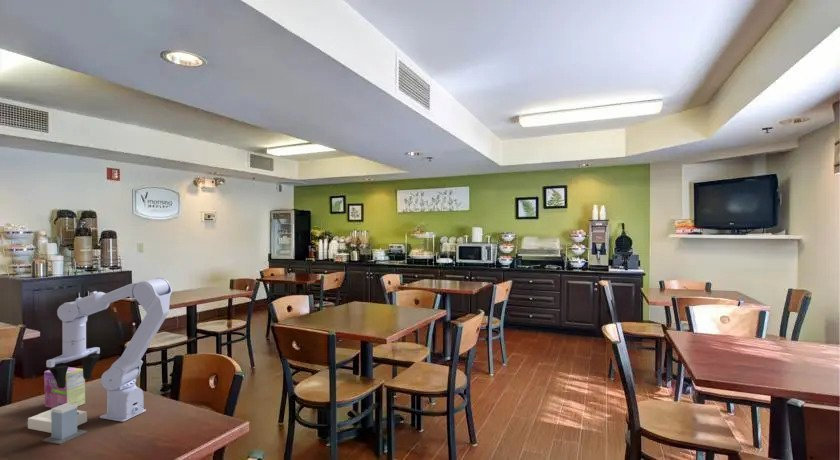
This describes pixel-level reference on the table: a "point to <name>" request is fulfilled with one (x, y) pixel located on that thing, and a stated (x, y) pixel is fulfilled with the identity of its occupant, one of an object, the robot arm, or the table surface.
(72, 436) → the mat
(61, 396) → the box
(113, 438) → the table surface
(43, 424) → the frame
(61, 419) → the plug
